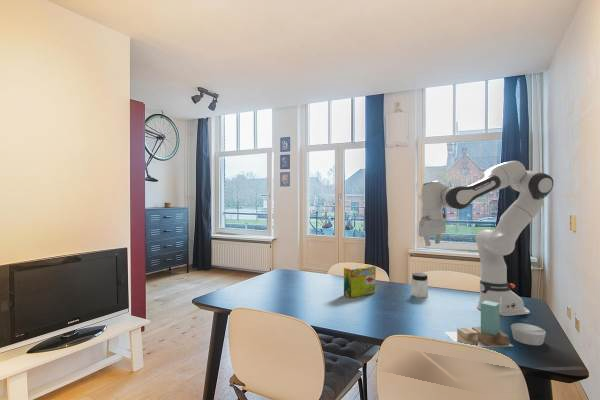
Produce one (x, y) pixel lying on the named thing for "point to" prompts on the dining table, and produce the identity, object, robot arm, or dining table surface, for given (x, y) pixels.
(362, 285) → the fingerpaint box
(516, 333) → the ramekin
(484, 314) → the teal block
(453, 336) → the blueprint board
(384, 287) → the dining table surface
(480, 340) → the walnut base
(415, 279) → the jar
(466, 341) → the oak cube
